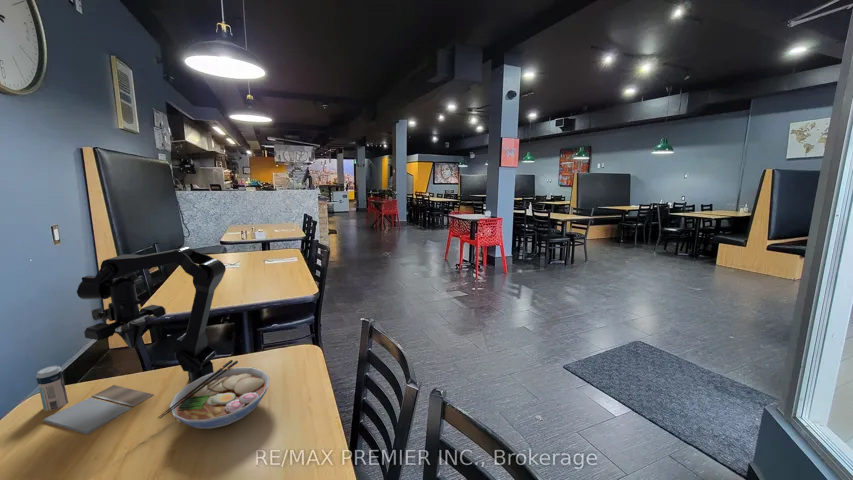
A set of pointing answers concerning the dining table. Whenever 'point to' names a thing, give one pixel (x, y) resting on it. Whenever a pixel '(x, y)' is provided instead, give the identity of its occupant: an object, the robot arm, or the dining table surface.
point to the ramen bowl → (220, 397)
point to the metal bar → (123, 395)
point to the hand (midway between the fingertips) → (132, 347)
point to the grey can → (52, 388)
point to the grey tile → (86, 415)
